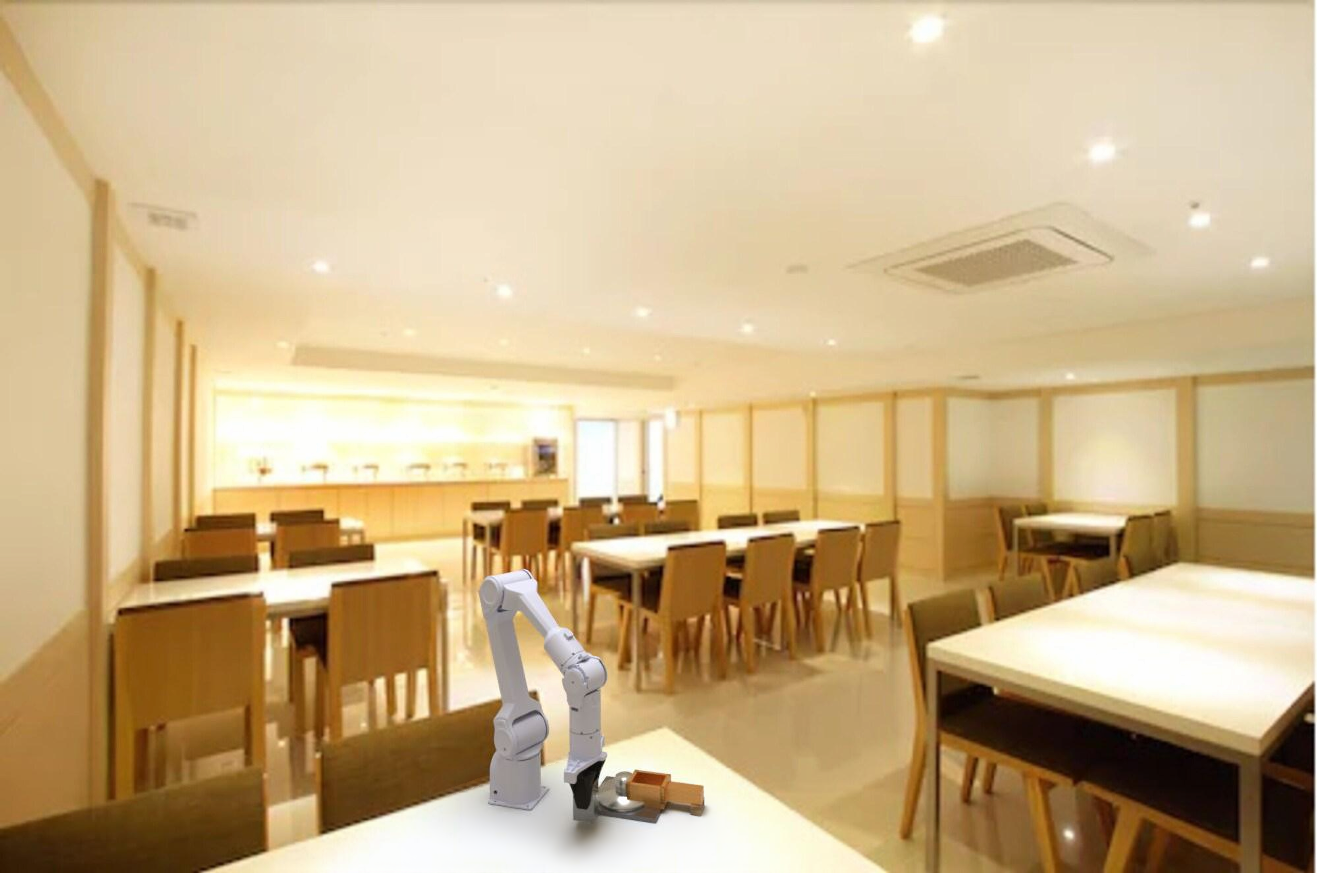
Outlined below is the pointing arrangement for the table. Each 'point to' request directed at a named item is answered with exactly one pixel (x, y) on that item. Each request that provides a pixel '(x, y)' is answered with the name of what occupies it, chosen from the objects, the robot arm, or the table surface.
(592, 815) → the brushed metal block
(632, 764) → the table surface
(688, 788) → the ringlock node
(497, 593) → the robot arm
